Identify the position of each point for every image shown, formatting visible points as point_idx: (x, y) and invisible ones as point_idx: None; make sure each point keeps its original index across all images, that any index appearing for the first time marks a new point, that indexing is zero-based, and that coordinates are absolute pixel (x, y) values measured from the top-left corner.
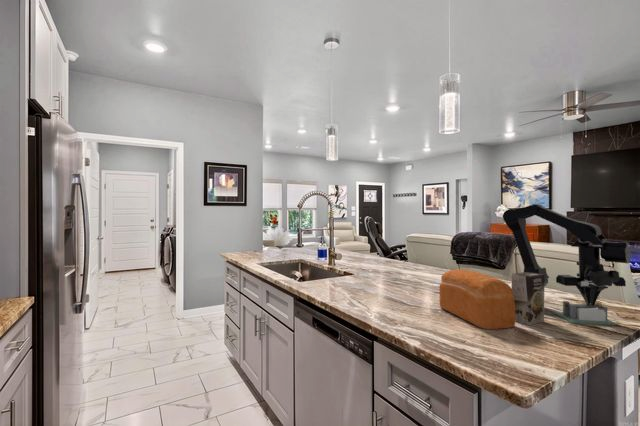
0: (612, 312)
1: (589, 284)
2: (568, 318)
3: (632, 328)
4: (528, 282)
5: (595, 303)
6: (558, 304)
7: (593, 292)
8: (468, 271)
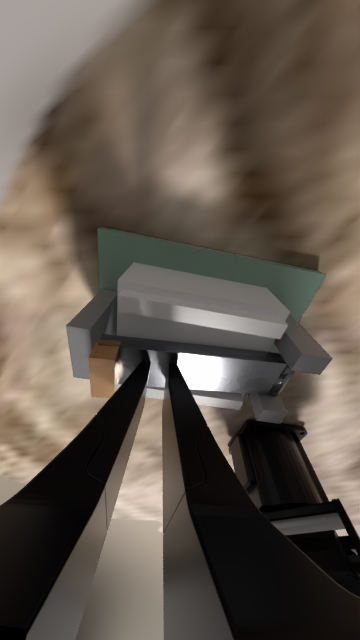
0: (6, 385)
1: (74, 634)
2: (300, 310)
3: (32, 161)
4: None
5: (117, 376)
6: (146, 447)
7: (114, 477)
8: None
